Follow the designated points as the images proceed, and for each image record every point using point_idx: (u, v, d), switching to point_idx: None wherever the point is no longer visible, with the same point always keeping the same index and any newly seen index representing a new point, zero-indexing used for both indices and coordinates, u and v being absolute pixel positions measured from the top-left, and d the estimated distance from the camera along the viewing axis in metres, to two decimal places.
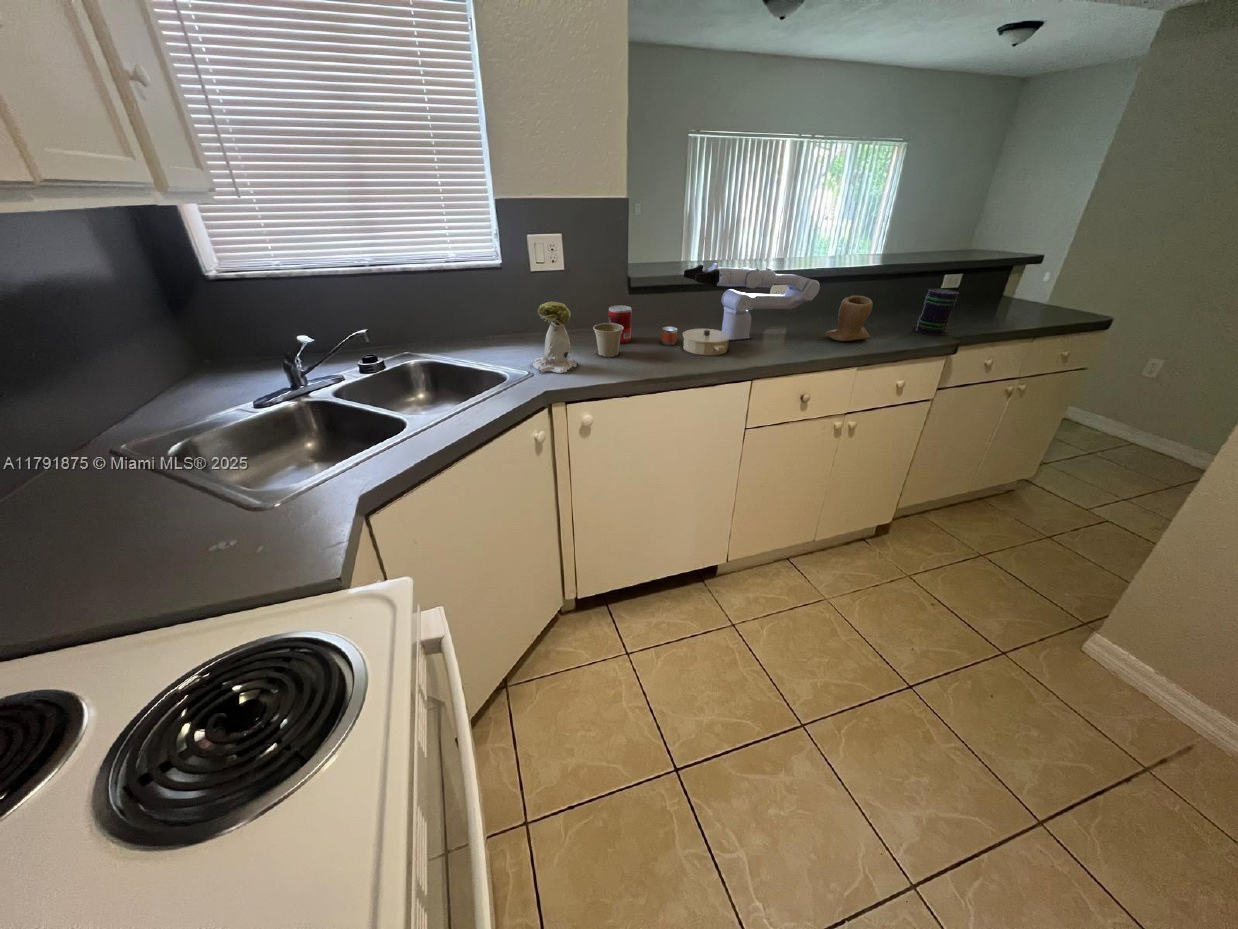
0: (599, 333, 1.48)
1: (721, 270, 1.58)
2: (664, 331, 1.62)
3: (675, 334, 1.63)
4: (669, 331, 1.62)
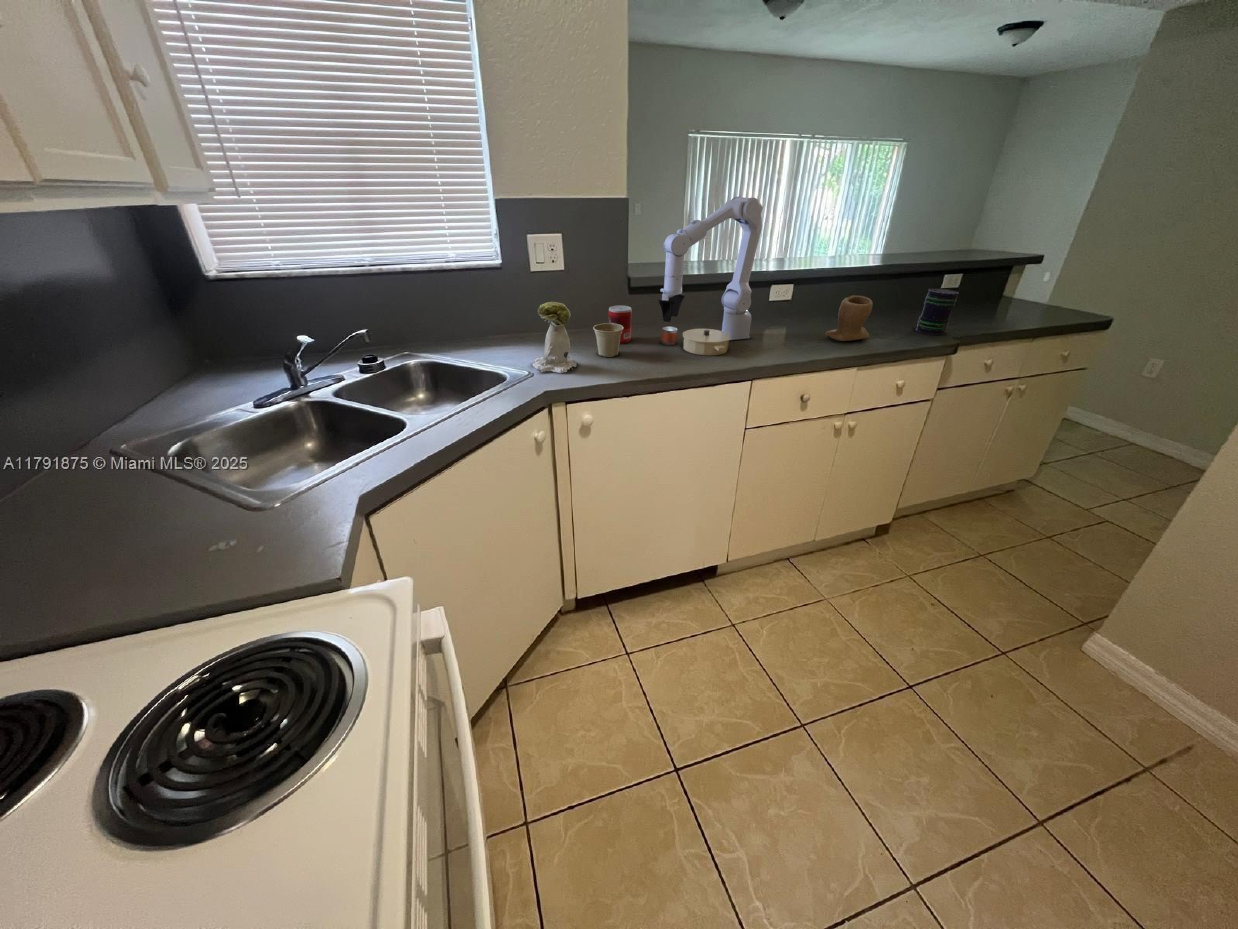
0: (599, 333, 1.48)
1: (664, 286, 1.56)
2: (664, 331, 1.62)
3: (675, 334, 1.63)
4: (669, 331, 1.62)
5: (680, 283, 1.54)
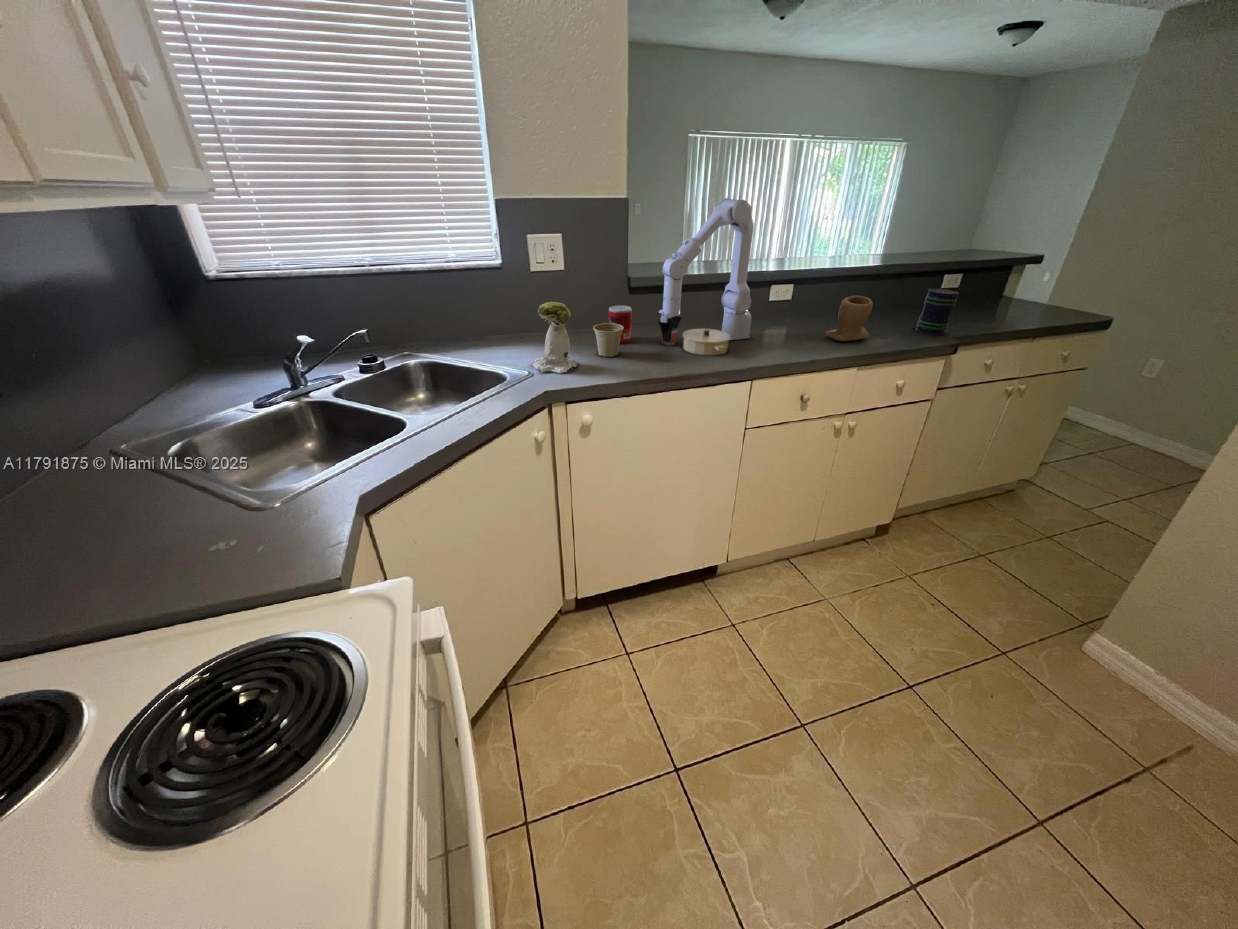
0: (599, 333, 1.48)
1: (663, 308, 1.59)
2: None
3: (675, 334, 1.63)
4: None
5: (678, 305, 1.58)
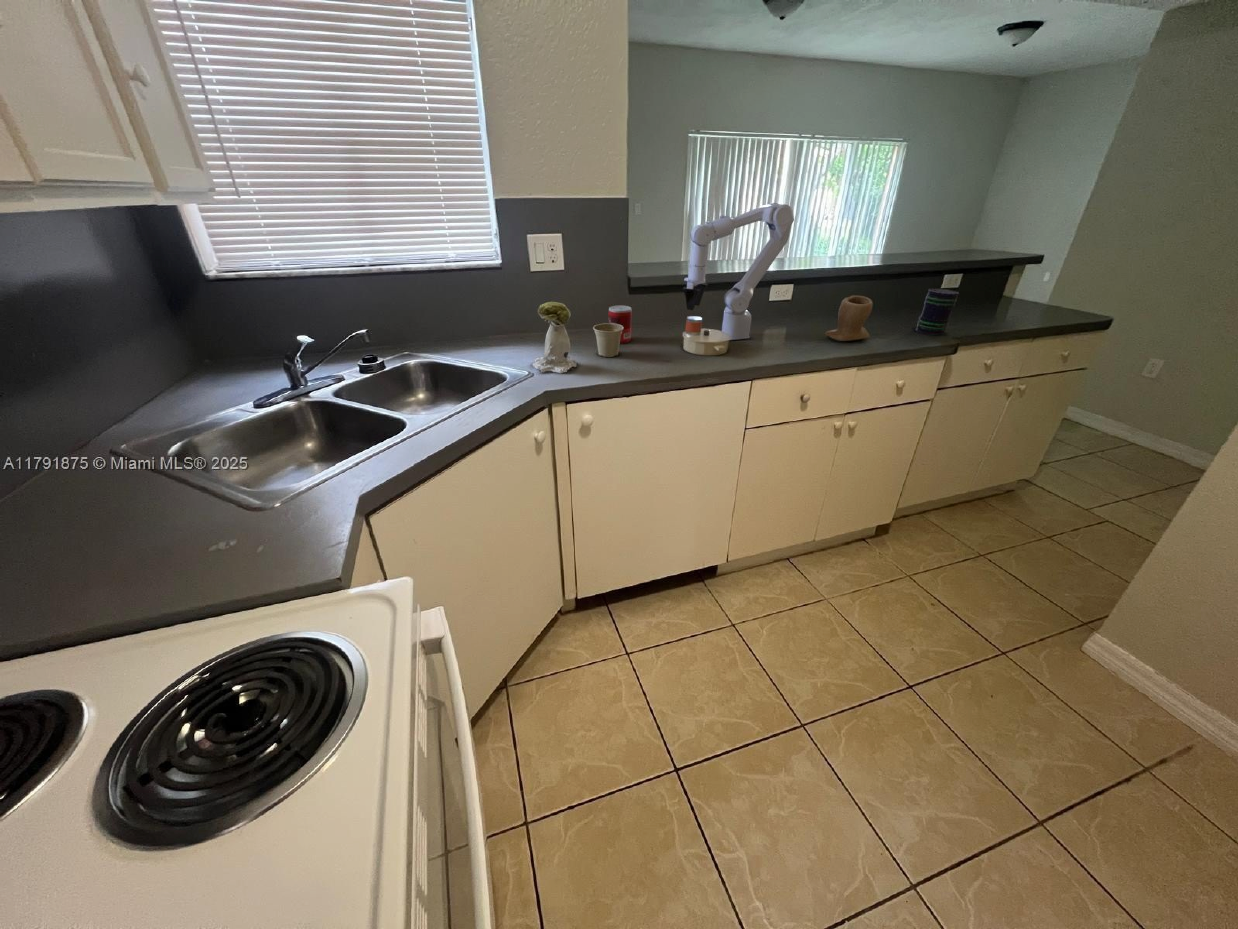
0: (599, 333, 1.48)
1: (689, 275, 1.61)
2: (689, 320, 1.57)
3: (700, 324, 1.58)
4: (694, 321, 1.57)
5: (704, 272, 1.60)
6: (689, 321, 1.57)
